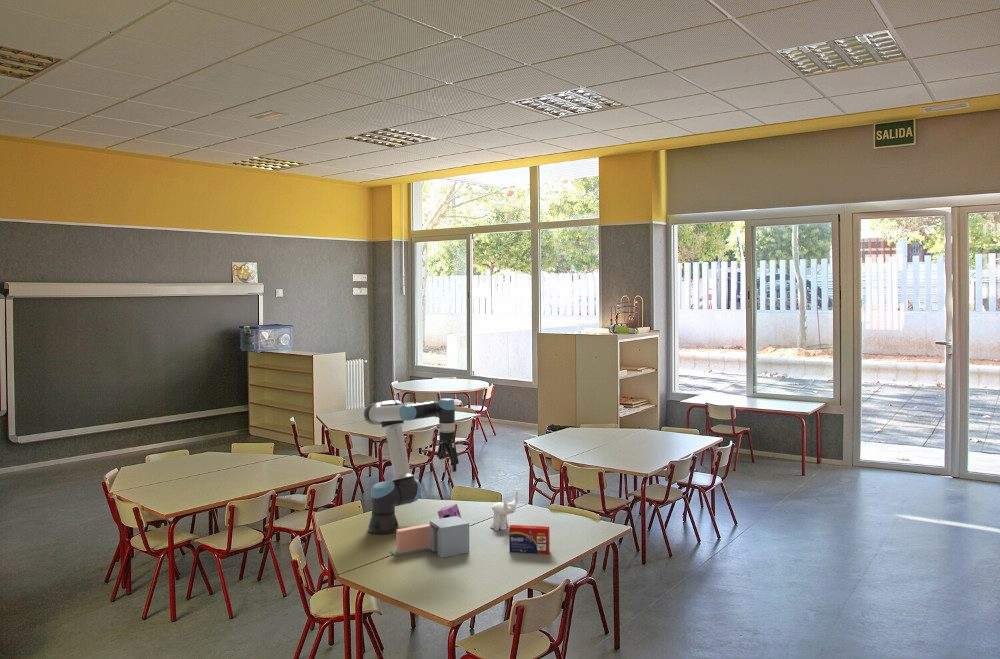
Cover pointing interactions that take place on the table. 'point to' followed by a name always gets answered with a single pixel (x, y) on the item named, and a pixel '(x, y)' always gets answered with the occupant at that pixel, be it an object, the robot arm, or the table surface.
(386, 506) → the robot arm
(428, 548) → the mat
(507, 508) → the toy animal
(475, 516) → the table surface
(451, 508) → the toy
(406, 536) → the long salmon pink block
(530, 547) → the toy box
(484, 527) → the table surface
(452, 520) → the pale blue cube
